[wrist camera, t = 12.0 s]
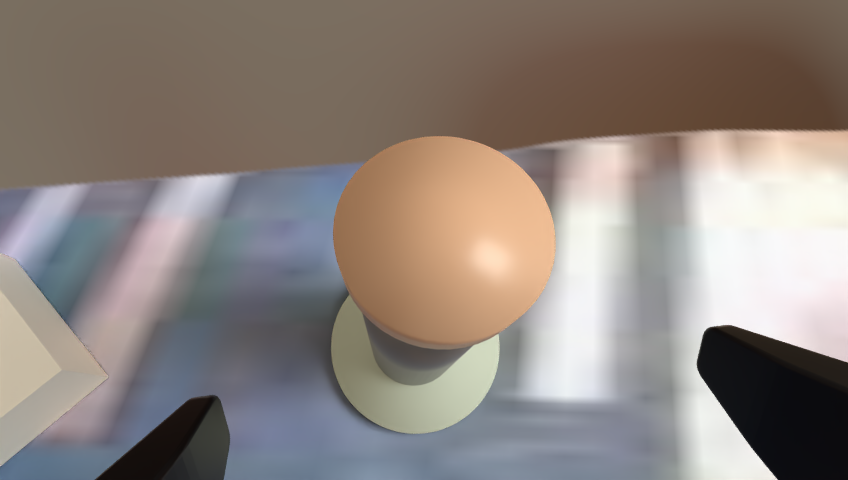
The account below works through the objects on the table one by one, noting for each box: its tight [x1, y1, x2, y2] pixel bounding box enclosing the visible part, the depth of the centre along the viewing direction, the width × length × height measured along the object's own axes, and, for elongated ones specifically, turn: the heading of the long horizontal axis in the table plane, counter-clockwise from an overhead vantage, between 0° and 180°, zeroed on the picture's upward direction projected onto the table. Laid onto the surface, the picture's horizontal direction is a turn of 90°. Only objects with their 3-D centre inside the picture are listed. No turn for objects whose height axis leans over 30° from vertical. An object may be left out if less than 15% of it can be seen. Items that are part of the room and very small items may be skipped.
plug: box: [333, 136, 555, 386], centre depth 14 cm, size 4×4×13 cm
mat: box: [331, 294, 499, 434], centre depth 21 cm, size 8×8×1 cm
